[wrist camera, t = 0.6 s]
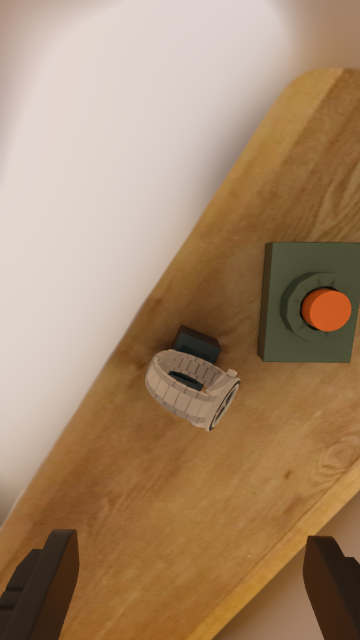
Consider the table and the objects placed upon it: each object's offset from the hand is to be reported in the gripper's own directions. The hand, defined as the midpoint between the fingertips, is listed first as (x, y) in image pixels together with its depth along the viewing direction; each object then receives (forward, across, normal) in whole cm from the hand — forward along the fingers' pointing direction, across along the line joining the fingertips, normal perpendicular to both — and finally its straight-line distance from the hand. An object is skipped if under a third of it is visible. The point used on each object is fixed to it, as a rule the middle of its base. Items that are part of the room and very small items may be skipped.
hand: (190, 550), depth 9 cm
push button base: (+21, -13, -6) cm, 25 cm away
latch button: (+18, -13, -6) cm, 22 cm away
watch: (+21, -1, 0) cm, 21 cm away
